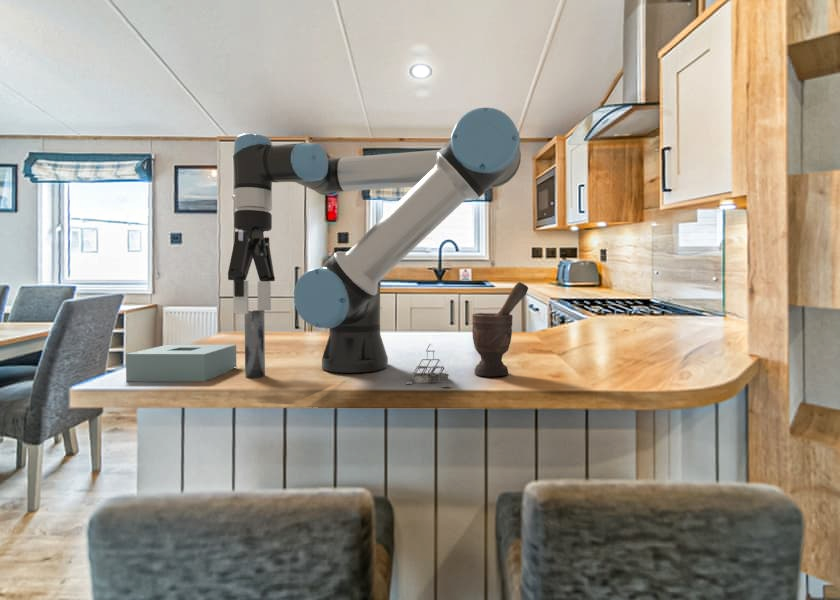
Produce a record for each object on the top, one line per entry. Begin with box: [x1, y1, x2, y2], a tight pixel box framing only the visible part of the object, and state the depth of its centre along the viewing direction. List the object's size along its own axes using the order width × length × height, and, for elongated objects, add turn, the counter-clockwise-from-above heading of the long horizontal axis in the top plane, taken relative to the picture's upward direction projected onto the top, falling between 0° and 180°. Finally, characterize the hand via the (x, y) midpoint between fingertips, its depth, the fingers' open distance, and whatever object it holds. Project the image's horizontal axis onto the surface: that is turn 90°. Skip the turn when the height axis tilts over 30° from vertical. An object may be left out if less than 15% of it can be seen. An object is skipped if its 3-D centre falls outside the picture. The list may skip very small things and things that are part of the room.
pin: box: [244, 309, 266, 379], centre depth 104 cm, size 4×4×14 cm
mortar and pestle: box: [471, 281, 529, 378], centre depth 105 cm, size 12×9×20 cm
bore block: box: [125, 344, 237, 382], centre depth 107 cm, size 16×16×6 cm
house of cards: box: [405, 343, 452, 388], centre depth 98 cm, size 9×9×8 cm
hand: (253, 311), depth 104 cm, fingers open, 13 cm apart
